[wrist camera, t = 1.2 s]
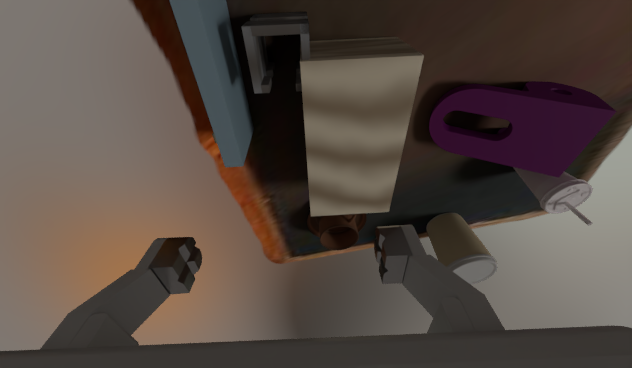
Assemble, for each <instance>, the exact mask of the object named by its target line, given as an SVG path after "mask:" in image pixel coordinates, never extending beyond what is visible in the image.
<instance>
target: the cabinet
mask: <svg viewBox="0 0 632 368" xmlns="http://www.w3.org/2000/svg"><path fill="white" fill-rule="evenodd" d="M242 32H243V37H244V42H245V47H246V53H247V58H248V63H249V68H250V73H251V78H252V83H253V89H254V94H256V93H270V90H271V86H272V79H271V77H274V73H275V69H276V68H275V62H268V55H267V49H266V42H265V36H272V35H293V34H300V37H301V42H300V61H296V73H297V74H296V91H302V98H303V112H304V126H305V140H306V155H307V169H308V183H309V198H310V212H311V217H312V216H328V215H344V214H361V213H377V212H389V208H390V204H391V199H392V195H393V190H394V186H395V182H396V177H397V173H398V168H399V164H400V159H401V155H402V151H403V146H404V142H405V137H406V133H407V129H408V124H409V120H410V115H411V111H412V106H413V102H414V98H415V93H416V89H417V84H418V80H419V75H420V71H421V67H422V62H423V58H424V55H423V54H421V53H420V52H418V51H417V50H415V49H414V48H412V47H411V46H409V45H408V44H406V43H405V42H403V41H402V40H400V39H399V38H397V37H382V38H362V39H342V40H321V41H309V23H308V19H307V12H291V13H270V14H254V15H253V16H252V17H251V18H250V21H247V22H246V23H245V24H244V25H243V26H242Z"/></svg>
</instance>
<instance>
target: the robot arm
mask: <svg viewBox="0 0 632 368" xmlns="http://www.w3.org/2000/svg"><path fill="white" fill-rule="evenodd" d="M375 233H376V237H377V238H376V239H375V242H374V250H375V257H376V261H377V262H378V263H379V273H380V277H381V280H382V283H383V284H388V283H403V285H404V286H405V288H407V290H408V291H409V292H410V293H411V294H412V295H413V296H414V297H415V298H416V299H417V301H418V302H419V303H420V304H421V305H422V306H423V307H424V308H425V309H426V310H427V311H428V312H429V314H430V315H431V316H432V317H433V320H432V323H431V325H430V327H429V330H428V332H427V334H405V335H381V336H380V335H379V336H356V337H331V338H309V339H308V338H307V339H282V340H260V341H236V342H211V343H188V344H165V345H164V344H163V345H140V346H139V344H138V342H137V341H136V340H135V339H134V338H133V337H132V336H131V335H132V334H133V332H134V331H135V330H136V329H137V328H138V327H139V326H140V325H141V324H142V323H143V322H144V321H145V320H146V319H147V318H148V317H149V316H150V315H151V314H152V313H153V312H154V311H155V310H156V309H157V308H158V307H159V306H160V305H161V304H162V303H163V302H164V301H165V300H166V299H167V298H168V297H169V296H170V295H169V294H180V293H189V292H190V290H191V287H192V285H193V283H194V281H195V277H194V274H195V273H196V272H197V271H198V270H199V269H200V266H201V263H202V255H201V251H200V249H198V248H197V247H195V244H196V242H195V240H194V238H193V237H179V238H178V237H177V238H157V239H156V240H154V241H153V243H152V244H151V246H150V248H149V249H148V250H147V252H146V253H145V255H144V256H143V258H142V259H141V261H140V262H139V264H138V265H137V266H136V268H135V269H134V270H130V271H129V272H127V273H126V274H124V275H123V276H121V277H120V278H119V279H117V280H116V281H114V282H113V283H111V284H110V285H108V286H107V287H106V288H104V289H103V290H101V291H100V292H99V293H97V294H96V295H94V296H93V297H91V298H90V299H89V300H87V301H86V302H84V303H83V304H81V305H80V306H78V307H77V308H76V309H74V310H73V311H71V312H70V313H68V315H67V316H66V317H65V318H64V320H63V321H62V322H61V324H60V325H59V326H58V327H57V329H56V330H55V331H54V332H53V334H52V335H51V336H50V338H49V339H48V340H47V341H46V342H45V344H44V345H43V346H42V348H41V349H40V350H21V351H20V350H19V351H0V368H632V328H629V327H624V326H596V327H595V326H593V327H570V328H547V329H546V328H545V329H523V330H505V329H504V327H503V326H502V324H501V322H500V321H499V319H498V317H497V315H496V314H495V312H494V310H493V309H492V307H491V305H490V304H489V302H488V300H487V298H486V297H485V295H484V294H482V293H481V292H480V291H478V290H477V289H476V288H474V287H473V286H472V285H470V284H469V283H468V282H466V281H465V280H464V279H462V278H461V277H460V276H458V275H457V274H456V273H454V272H453V271H451V270H450V269H449V268H447V267H446V266H445V265H443V264H442V263H441V262H439V261H438V260H437V259H435V258H434V257H433V256H431V255H426V252H425V250H424V248H423V246H422V244H421V242H420V239H419V237H418V235H417V233H416V231H415V229H414V226H413V225H400V226H399V225H397V226H381V227H377V228H376V232H375Z"/></svg>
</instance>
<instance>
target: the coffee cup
mask: <svg viewBox="0 0 632 368" xmlns="http://www.w3.org/2000/svg"><path fill="white" fill-rule="evenodd" d="M426 229H427V233H428V235H429V238H430V241H431V243H432V246H433V248H434V251H435V253H436V255H437V258H438V261H439V262H441V263H442V264H443V265H445V266H446V267H447V268H449V269H450V270H451V271H453V272H454V273H456V274H457V275H458V276H460V277H461V278H462V279H464V280H465V281H466V282H468V283H469V284H470V285H471V284H475V283H478V282H481V281H483V280H486V279H487V278H489V277H491V276H492V275H493V274H494V273H495V272H496V270H497V261H496V260H495V258H493V256H491V254H490V253H489V252H488V250H487V249H486V248H485V246H484V245H483V244H482V242H481V241H480V240H479V239H478V237H477V236H476V235H475V234H474V232H473V231H472V230H471V228H470V227H469V226H468V224H467V223H466V222H465V221H464V219H463V218H462V217H461V216H460V215H459V214H457V213H443V214H440V215H438V216H436V217H434V218H433V219H431V220H430V221H429V223H428V224H427V227H426Z"/></svg>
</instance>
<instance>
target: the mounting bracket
mask: <svg viewBox="0 0 632 368" xmlns="http://www.w3.org/2000/svg"><path fill="white" fill-rule="evenodd" d="M456 110H458V111H464V112H469V113H475V114H480V115H485V116H490V117H496V118H501V119H506V120H508V121H509V122H510V124H509V126H508V128H501V129H500V130H499V131H498V133H497V134H487V133H483V132H478V131H473V130H468V129H463V128H458V127H453V126H449V125H447V124H445V123H444V121H443V118H444V116H445V115H446V114H447V113H449V112H451V111H456ZM615 112H616V111H615V110H614V109H613V108H612V107H610V106H609V105H608V104H607V103H605V102H604V101H603V100H602V99H600V98H599V97H598V96H596V95H594V94H592V93H590V92H588V91H585V90H582V89H579V88H576V87H572V86H568V85H563V84H558V83H552V82H528V83H526V84H525V86H524V88H523V90H522V91H520V90H514V89H507V88H501V87H495V86H489V85H482V84H468V85H463V86H459V87H457V88H454V89H452V90H450V91H449V92H447V93H446V94H444V95H443V96H442V97H441V98H440V99H439V100H438V102H437V103H436V104H435V106H434V108H433V110H432V112H431V116H430V122H429V131H430V135H431V137H432V139H433V141H434V142H435V143H436V144H437V145H438V146H439V147H441V148H442V149H444V150H446V151H448V152H451V153H455V154H460V155H464V156H468V157H472V158H477V159H481V160H485V161H490V162H494V163H498V164H502V165H507V166H511V167H515V168H520V169H524V170H528V171H532V172H537V173H541V174H545V175H550V176H554V177H558V178H559V177H560V176H561V175H562V173H563V172H564V171H565V170H566V169H567V168H568V166H569V165H570V164H571V163H572V162H573V161H574V160H575V158H576V157H577V156H578V155H579V154H580V153H581V152H582V150H583V149H584V148H585V147H586V146H587V145H588V143H589V142H590V141H591V140H592V139H593V138H594V137H595V135H596V134H597V133H598V132H599V131H600V130H601V128H602V127H603V126H604V125H605V124H606V123H607V122H608V120H609V119H610V118H611V117H612V116H613V115H614V114H615Z"/></svg>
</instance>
